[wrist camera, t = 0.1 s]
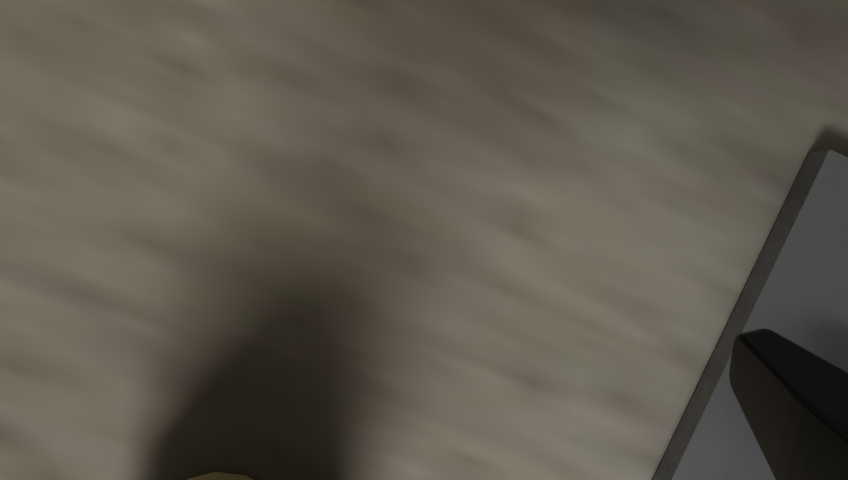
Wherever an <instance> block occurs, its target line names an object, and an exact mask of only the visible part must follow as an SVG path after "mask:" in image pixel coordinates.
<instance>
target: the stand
mask: <svg viewBox="0 0 848 480" xmlns="http://www.w3.org/2000/svg"><path fill="white" fill-rule="evenodd" d="M763 328H764V329H769V330H772V331H774V332H776V333H777V334H779V335H781V336H783V337H785V338H786V339H788V340H790V341H792V342H794V343H795V344H797V345H799V346H801V347H803V348H804V349H806V350H808V351H810V352H812V353H813V354H815V355H817V356H819V357H821V358H822V359H824V360H826V361H828V362H830V363H831V364H833V365H835V366H837V367H839V368H840V369H842V370H844V371H846V372H848V157H846V156H844V155H842V154H839V153H837V152H835V151H833V150H831V149H827V150H820V151H813V152H809V153H808V155H807V157H806V159H805V161H804V164H803V166H802V168H801V170H800V172H799V174H798V176H797V178H796V180H795V182H794V185H793V187H792V189H791V191H790V193H789V195H788V197H787V199H786V201H785V203H784V205H783V208H782V210H781V212H780V214H779V216H778V218H777V220H776V222H775V224H774V226H773V228H772V231H771V233H770V235H769V237H768V239H767V241H766V243H765V245H764V247H763V249H762V251H761V254H760V256H759V258H758V260H757V262H756V264H755V266H754V268H753V270H752V272H751V275H750V277H749V279H748V281H747V283H746V285H745V287H744V289H743V291H742V293H741V295H740V298H739V300H738V302H737V304H736V306H735V308H734V310H733V312H732V314H731V316H730V318H729V321H728V323H727V325H726V327H725V329H724V331H723V333H722V335H721V337H720V339H719V342H718V344H717V346H716V348H715V350H714V352H713V354H712V356H711V358H710V360H709V362H708V365H707V367H706V369H705V371H704V373H703V375H702V377H701V379H700V381H699V383H698V385H697V388H696V390H695V392H694V394H693V396H692V398H691V400H690V402H689V404H688V406H687V409H686V411H685V413H684V415H683V417H682V419H681V421H680V423H679V425H678V427H677V429H676V432H675V434H674V436H673V438H672V440H671V442H670V444H669V446H668V448H667V450H666V452H665V455H664V457H663V459H662V461H661V463H660V465H659V467H658V469H657V471H656V473H655V475H654V478H653V480H776V479H775V477H774V475H773V473H772V471H771V469H770V467H769V465H768V463H767V461H766V459H765V457H764V455H763V453H762V451H761V449H760V446H759V444H758V442H757V440H756V438H755V436H754V434H753V432H752V430H751V428H750V426H749V424H748V422H747V419H746V417H745V415H744V413H743V411H742V409H741V407H740V405H739V403H738V401H737V399H736V397H735V395H734V393H733V390H732V388H731V385H730V380H729V368H730V361H731V354H732V346H733V341H734V338H735V337H736V335H737V334H740V333H743V332H748V331H752V330H756V329H763Z"/></svg>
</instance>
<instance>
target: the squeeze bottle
mask: <svg viewBox="0 0 848 480" xmlns="http://www.w3.org/2000/svg"><path fill="white" fill-rule="evenodd" d="M186 480H253V479H251V478H250V477H248V476H246V475H238V474H230V473H222V472H212V473H208V474H204V475H201V476H197V477H193V478H190V479H186Z"/></svg>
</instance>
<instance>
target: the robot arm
mask: <svg viewBox="0 0 848 480" xmlns="http://www.w3.org/2000/svg"><path fill="white" fill-rule="evenodd" d="M729 380H730V385H731V388H732V390H733V393H734V395H735V397H736V399H737V401H738V403H739V405H740V407H741V409H742V411H743V413H744V415H745V417H746V419H747V422H748V424H749V426H750V428H751V430H752V432H753V434H754V436H755V438H756V440H757V442H758V444H759V446H760V449H761V451H762V453H763V455H764V457H765V459H766V461H767V463H768V465H769V467H770V469H771V471H772V473H773V475H774V477H775V479H776V480H848V372H846V371H844V370H842V369H840V368H839V367H837V366H835V365H833V364H831V363H830V362H828V361H826V360H824V359H822V358H821V357H819V356H817V355H815V354H813V353H812V352H810V351H808V350H806V349H804V348H803V347H801V346H799V345H797V344H795V343H794V342H792V341H790V340H788V339H786V338H785V337H783V336H781V335H779V334H777V333H776V332H774V331H772V330H769V329H764V328H763V329H756V330H752V331H748V332H743V333H740V334H737V335H736V337H735V338H734V341H733V346H732V354H731V361H730V368H729Z"/></svg>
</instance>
